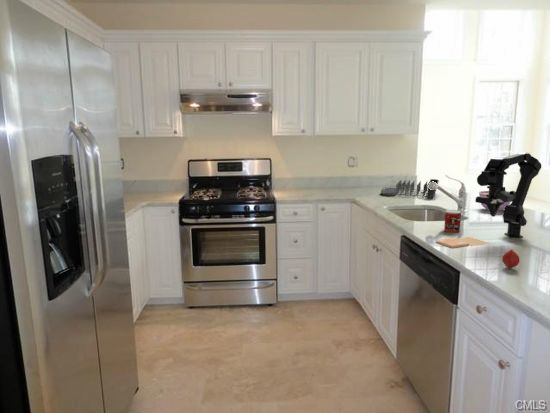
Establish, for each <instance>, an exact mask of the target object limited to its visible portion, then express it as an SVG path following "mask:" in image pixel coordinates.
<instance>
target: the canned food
mask: <svg viewBox="0 0 550 413" xmlns="http://www.w3.org/2000/svg"><path fill="white" fill-rule="evenodd" d="M444 213H445V214H444V228H443V230H444V232H448V233H460V231H461V220H462V211H461V210H457V209H447V210H445V212H444Z"/></svg>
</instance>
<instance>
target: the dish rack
mask: <svg viewBox="0 0 550 413" xmlns="http://www.w3.org/2000/svg"><path fill="white" fill-rule="evenodd" d="M432 181H434V182H436V183H437V184H439V183H440V182H439V181H440V180H439V179H433V178H432V179H430V180H429V182H428V181H425V184H424V185H423V189H421V186H422V185H421V182H422V180H420V181H419V182H418V183H417V184H416V190H415V181H412V182H411V180H408V182H406V179H405V180H404V181H402V180H399V181H398V182H397V183H396V185H393V186H392V185H389V186H388V187H386V186H385V187H382V188H381V189H380V193H381V194H382V195H387V196H388V197H392V196H407V197H408V196H409V197H416V198H417V199H419V197H421V199H423V197H425V198H426V197H427V198H434V197H435V195H436V192H437V189H436V190H430V189H429V188H428V185H429V183H430V182H432Z"/></svg>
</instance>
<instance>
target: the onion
mask: <svg viewBox="0 0 550 413" xmlns="http://www.w3.org/2000/svg"><path fill="white" fill-rule="evenodd" d="M501 260H502V263H503V264H504V266H505V267H506V268H508V269H513V268H516V267H517V266H518V265H519V263H520V256H519V255H518V253H516V252H515V251H514V249H513V248H510V250H508V251H505V253H504V254H503V255H502V258H501Z"/></svg>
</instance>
